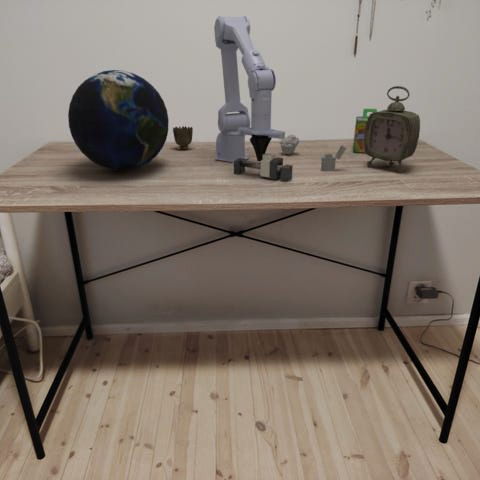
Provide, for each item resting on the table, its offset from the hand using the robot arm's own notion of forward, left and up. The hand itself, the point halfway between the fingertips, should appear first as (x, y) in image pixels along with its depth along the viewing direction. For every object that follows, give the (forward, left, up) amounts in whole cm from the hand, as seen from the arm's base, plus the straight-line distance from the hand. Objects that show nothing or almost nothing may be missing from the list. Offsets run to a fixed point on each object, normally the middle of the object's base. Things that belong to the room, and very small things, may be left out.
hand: (260, 160), depth 132 cm
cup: (-40, +17, -5) cm, 44 cm away
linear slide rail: (+1, 0, -5) cm, 5 cm away
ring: (+5, 0, -5) cm, 7 cm away
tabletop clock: (+33, +27, -5) cm, 43 cm away
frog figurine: (-2, +28, -5) cm, 29 cm away
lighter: (+18, +16, -5) cm, 24 cm away
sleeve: (+3, 0, -5) cm, 6 cm away
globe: (-42, -13, -5) cm, 45 cm away
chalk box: (+21, +46, -5) cm, 51 cm away
